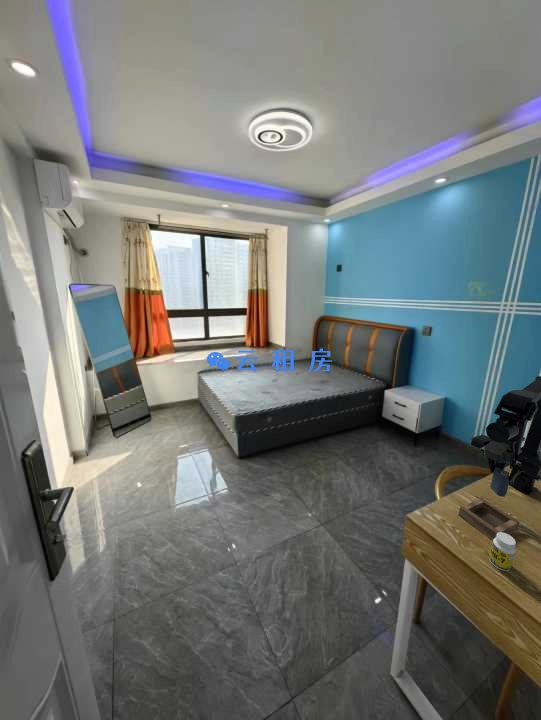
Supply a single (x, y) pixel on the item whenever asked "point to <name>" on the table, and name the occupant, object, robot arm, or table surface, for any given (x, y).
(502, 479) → the vaping device
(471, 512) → the socket block
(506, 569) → the supplement bottle
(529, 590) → the table surface
